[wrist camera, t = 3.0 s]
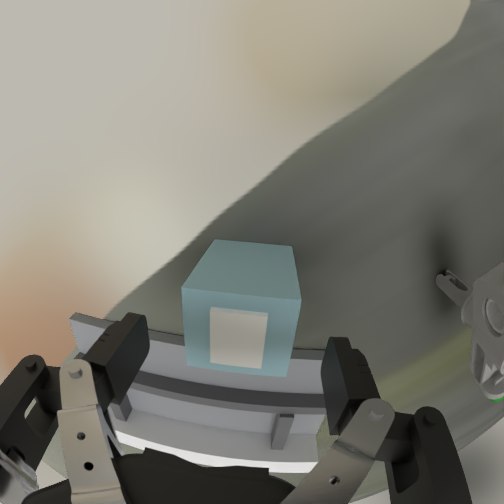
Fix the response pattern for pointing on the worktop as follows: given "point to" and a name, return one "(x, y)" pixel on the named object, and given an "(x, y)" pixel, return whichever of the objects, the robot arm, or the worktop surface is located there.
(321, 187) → the worktop surface
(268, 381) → the rail mount
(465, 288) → the mechanical component
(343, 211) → the worktop surface
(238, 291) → the block
